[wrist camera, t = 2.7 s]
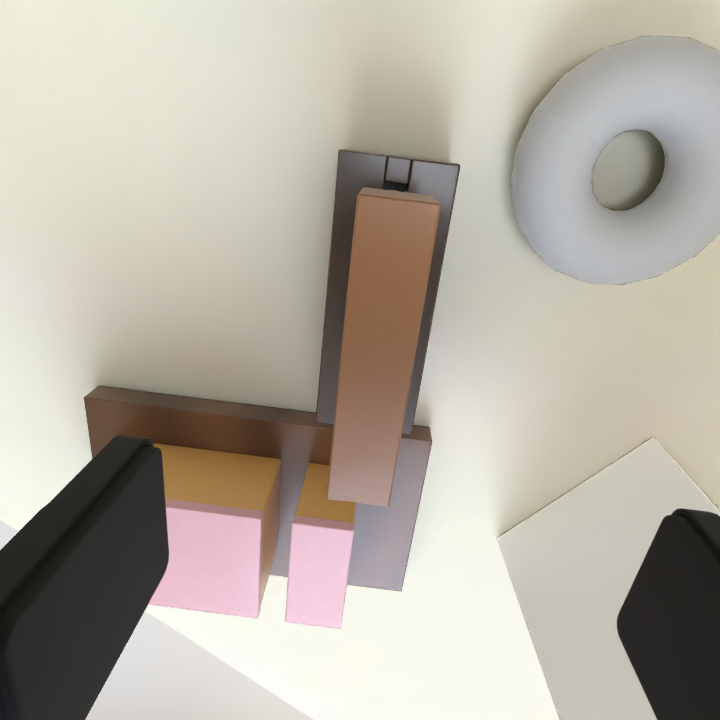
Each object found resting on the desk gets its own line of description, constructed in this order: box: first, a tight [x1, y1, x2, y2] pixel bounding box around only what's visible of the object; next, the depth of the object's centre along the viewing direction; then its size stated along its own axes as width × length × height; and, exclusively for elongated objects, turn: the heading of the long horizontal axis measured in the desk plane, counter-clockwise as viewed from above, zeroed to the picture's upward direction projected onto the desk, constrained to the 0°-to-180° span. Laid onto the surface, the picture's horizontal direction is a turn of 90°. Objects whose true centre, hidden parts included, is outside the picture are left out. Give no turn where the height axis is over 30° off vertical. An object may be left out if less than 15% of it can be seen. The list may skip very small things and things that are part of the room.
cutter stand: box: [316, 150, 460, 434], centre depth 24 cm, size 5×13×4 cm, turn 174°
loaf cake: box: [149, 443, 281, 618], centre depth 27 cm, size 10×7×5 cm
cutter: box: [326, 187, 441, 507], centre depth 21 cm, size 2×11×10 cm, turn 174°
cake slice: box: [285, 463, 356, 629], centre depth 27 cm, size 3×7×5 cm, turn 174°
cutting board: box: [84, 386, 432, 591], centre depth 30 cm, size 20×12×2 cm, turn 84°
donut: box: [511, 36, 720, 285], centre depth 21 cm, size 10×4×10 cm
